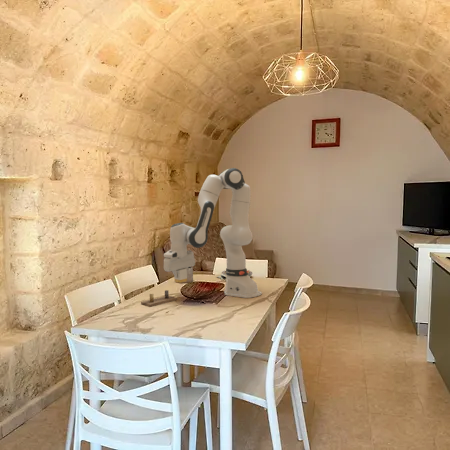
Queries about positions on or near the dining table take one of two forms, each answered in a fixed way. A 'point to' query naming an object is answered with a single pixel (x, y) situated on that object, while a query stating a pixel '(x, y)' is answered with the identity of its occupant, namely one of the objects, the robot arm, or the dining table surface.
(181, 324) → the dining table surface
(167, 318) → the dining table surface
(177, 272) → the sleeve
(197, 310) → the dining table surface
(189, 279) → the planter
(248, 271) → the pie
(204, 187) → the robot arm
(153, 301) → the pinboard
